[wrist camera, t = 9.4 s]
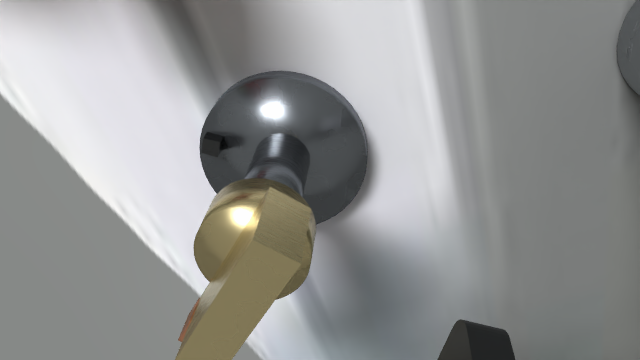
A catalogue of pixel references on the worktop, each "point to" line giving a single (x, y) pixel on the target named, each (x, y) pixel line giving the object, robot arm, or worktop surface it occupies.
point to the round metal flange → (287, 139)
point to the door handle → (246, 263)
